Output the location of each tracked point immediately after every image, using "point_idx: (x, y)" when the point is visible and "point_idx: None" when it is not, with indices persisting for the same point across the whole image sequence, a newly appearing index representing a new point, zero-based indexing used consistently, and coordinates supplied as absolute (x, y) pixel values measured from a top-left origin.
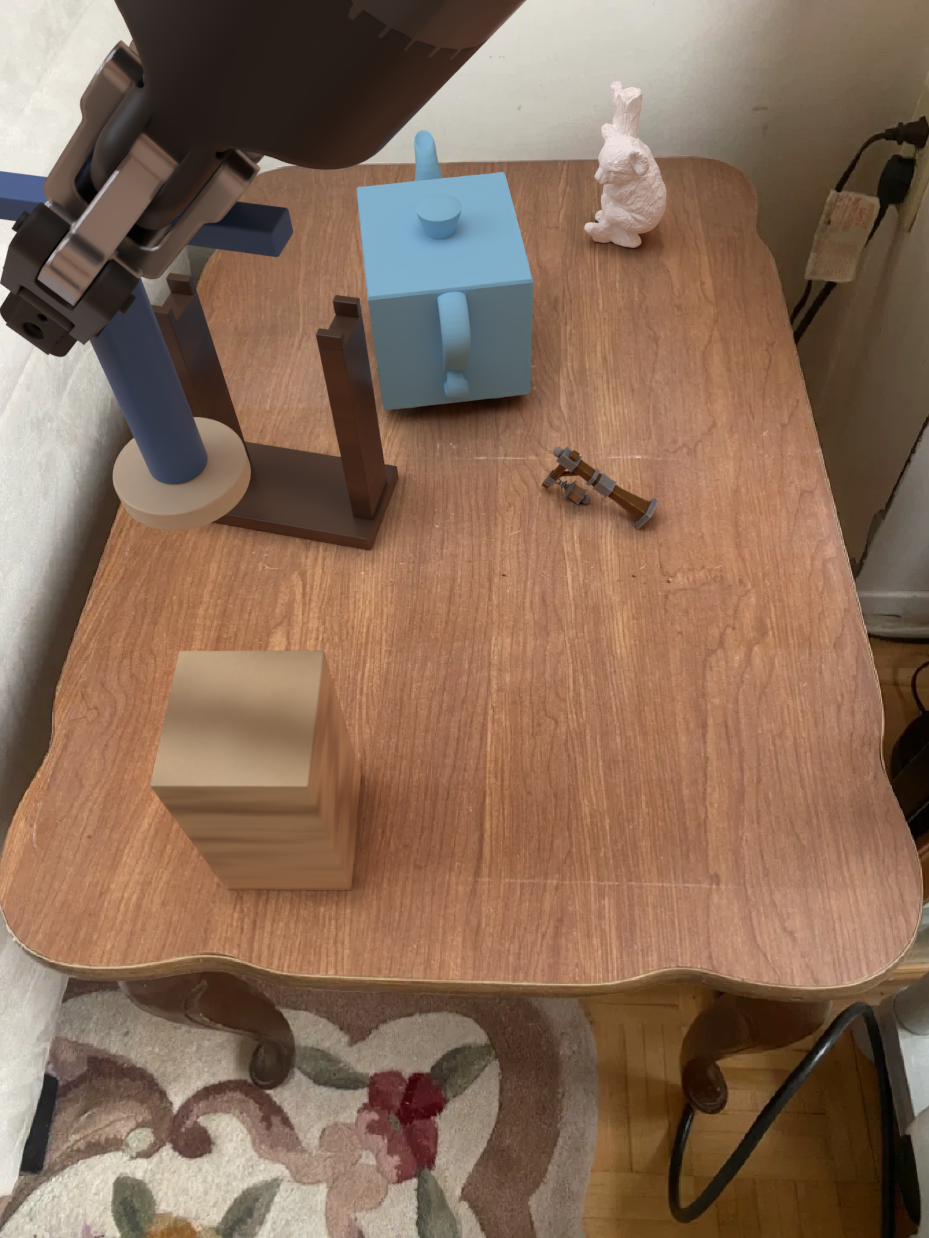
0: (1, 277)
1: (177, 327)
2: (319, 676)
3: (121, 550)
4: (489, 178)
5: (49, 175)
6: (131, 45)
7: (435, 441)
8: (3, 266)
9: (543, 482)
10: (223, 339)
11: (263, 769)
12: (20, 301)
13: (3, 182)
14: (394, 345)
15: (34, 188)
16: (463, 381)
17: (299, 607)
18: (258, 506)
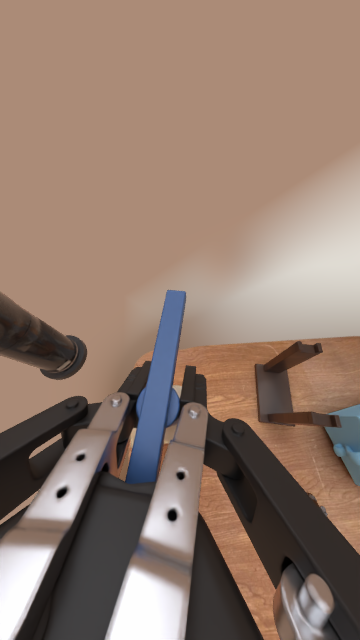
0: (43, 411)
1: (297, 352)
2: (167, 442)
3: (238, 345)
4: None
5: (72, 440)
6: (128, 566)
7: (314, 438)
8: (67, 401)
9: (310, 493)
10: (329, 348)
11: (135, 431)
12: (124, 381)
13: (163, 360)
14: (344, 425)
15: (158, 381)
16: (342, 455)
17: (232, 401)
18: (262, 380)
